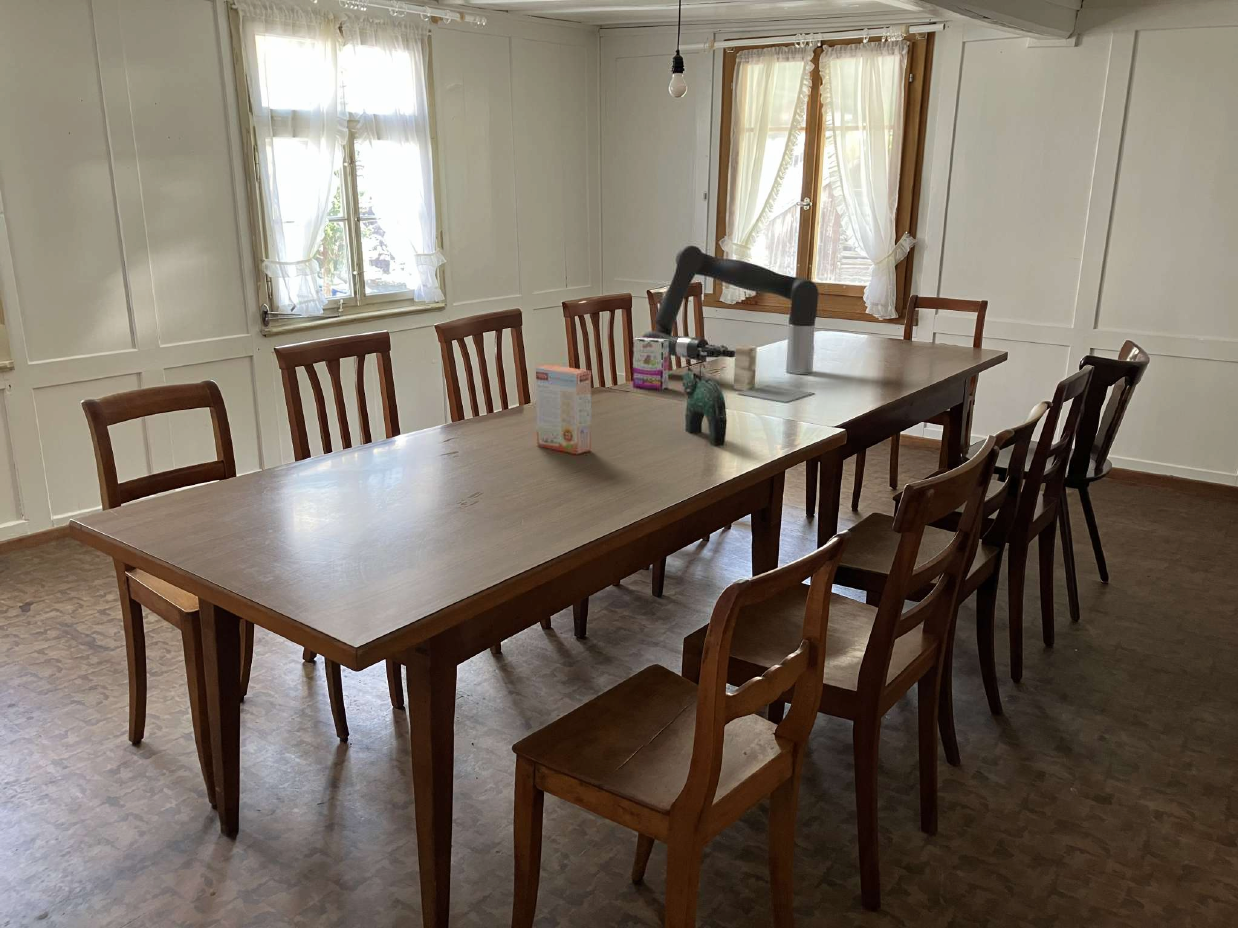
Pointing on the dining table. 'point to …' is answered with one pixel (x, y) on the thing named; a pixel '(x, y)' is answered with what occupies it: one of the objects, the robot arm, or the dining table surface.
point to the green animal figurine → (704, 405)
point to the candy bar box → (650, 363)
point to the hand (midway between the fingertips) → (733, 354)
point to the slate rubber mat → (776, 393)
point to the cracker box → (563, 408)
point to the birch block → (745, 367)
